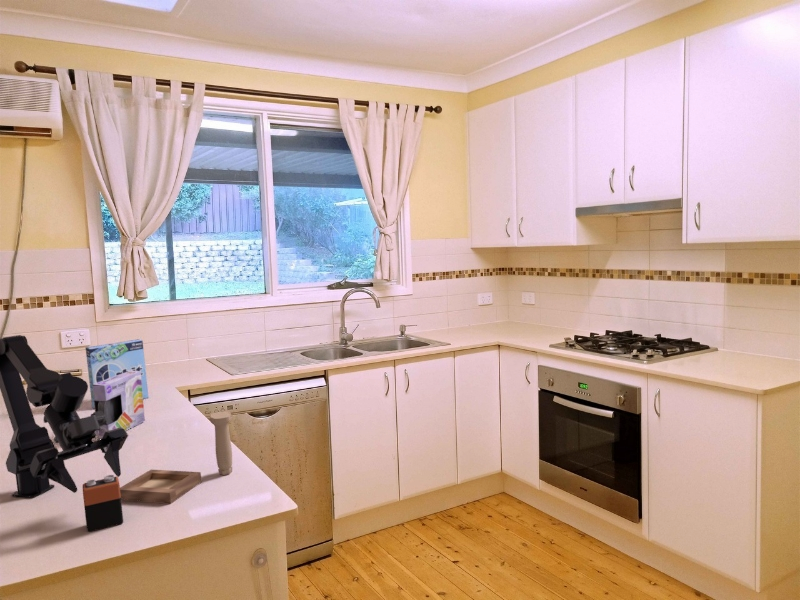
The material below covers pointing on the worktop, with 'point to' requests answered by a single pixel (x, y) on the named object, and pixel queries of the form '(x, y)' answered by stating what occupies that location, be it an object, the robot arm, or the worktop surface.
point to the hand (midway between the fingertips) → (98, 483)
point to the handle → (222, 441)
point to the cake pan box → (120, 401)
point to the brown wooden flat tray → (160, 486)
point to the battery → (102, 503)
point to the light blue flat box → (116, 362)
